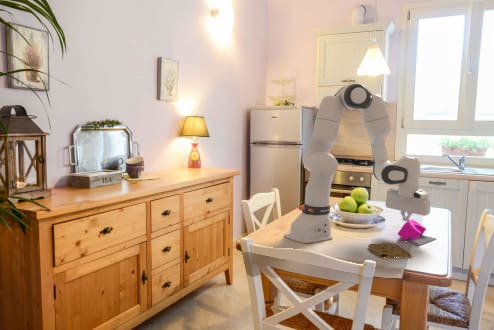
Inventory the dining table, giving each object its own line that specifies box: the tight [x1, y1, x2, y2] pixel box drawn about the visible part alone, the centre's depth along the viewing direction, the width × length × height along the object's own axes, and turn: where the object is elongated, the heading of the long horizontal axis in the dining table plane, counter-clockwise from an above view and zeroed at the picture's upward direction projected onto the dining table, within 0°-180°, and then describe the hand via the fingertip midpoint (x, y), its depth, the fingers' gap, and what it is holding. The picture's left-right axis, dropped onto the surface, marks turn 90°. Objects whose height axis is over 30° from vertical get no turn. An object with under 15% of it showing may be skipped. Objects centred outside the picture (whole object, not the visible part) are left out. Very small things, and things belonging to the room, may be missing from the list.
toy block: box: [397, 219, 427, 240], centre depth 183 cm, size 15×6×8 cm
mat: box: [401, 234, 437, 247], centre depth 180 cm, size 16×8×1 cm, turn 130°
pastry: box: [367, 242, 412, 259], centre depth 163 cm, size 17×17×3 cm
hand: (405, 220), depth 184 cm, fingers closed
